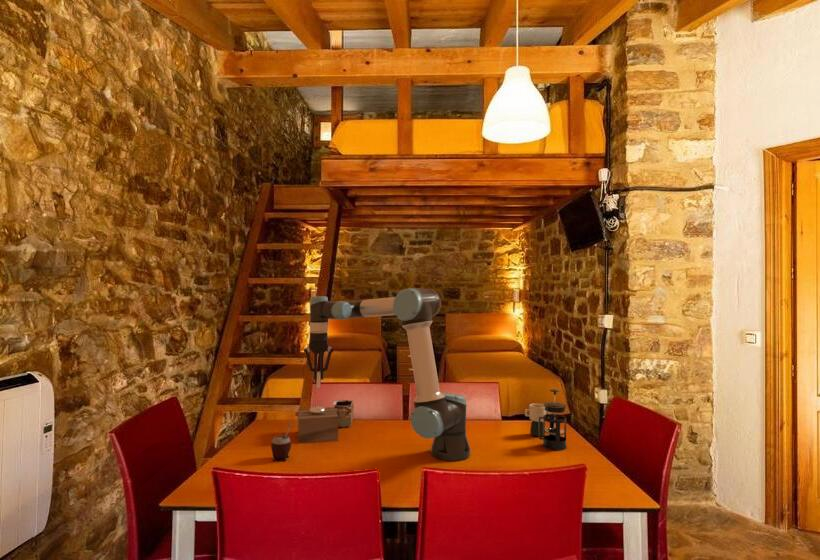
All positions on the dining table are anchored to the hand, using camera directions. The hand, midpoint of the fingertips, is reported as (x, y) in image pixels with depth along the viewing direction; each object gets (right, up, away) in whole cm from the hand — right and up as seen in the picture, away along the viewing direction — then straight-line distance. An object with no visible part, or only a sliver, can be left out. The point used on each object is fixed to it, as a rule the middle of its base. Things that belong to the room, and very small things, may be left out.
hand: (318, 387), depth 206 cm
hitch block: (0, -21, 0) cm, 21 cm away
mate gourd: (-8, -21, -28) cm, 36 cm away
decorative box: (+7, -22, +22) cm, 31 cm away
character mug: (+95, -22, +4) cm, 98 cm away
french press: (+98, -22, -10) cm, 101 cm away
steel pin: (0, -20, 0) cm, 20 cm away
